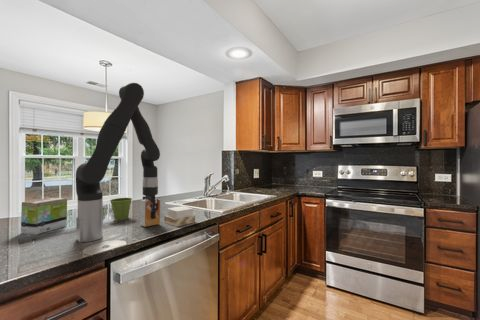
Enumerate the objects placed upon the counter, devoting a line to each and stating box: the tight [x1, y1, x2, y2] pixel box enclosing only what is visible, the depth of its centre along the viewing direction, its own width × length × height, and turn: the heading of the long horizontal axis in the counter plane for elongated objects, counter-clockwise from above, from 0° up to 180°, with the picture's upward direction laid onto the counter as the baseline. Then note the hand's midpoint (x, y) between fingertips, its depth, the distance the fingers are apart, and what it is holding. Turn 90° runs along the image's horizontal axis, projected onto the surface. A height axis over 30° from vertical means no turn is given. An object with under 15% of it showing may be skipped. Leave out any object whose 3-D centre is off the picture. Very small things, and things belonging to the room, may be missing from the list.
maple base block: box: [163, 214, 196, 228], centre depth 131 cm, size 12×12×4 cm
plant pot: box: [109, 197, 133, 221], centre depth 138 cm, size 12×12×11 cm
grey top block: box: [166, 205, 194, 219], centre depth 131 cm, size 10×10×4 cm
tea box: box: [20, 197, 68, 235], centre depth 117 cm, size 15×10×15 cm
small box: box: [139, 198, 161, 228], centre depth 125 cm, size 8×6×13 cm
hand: (150, 217), depth 125 cm, fingers closed on small box, 6 cm apart
